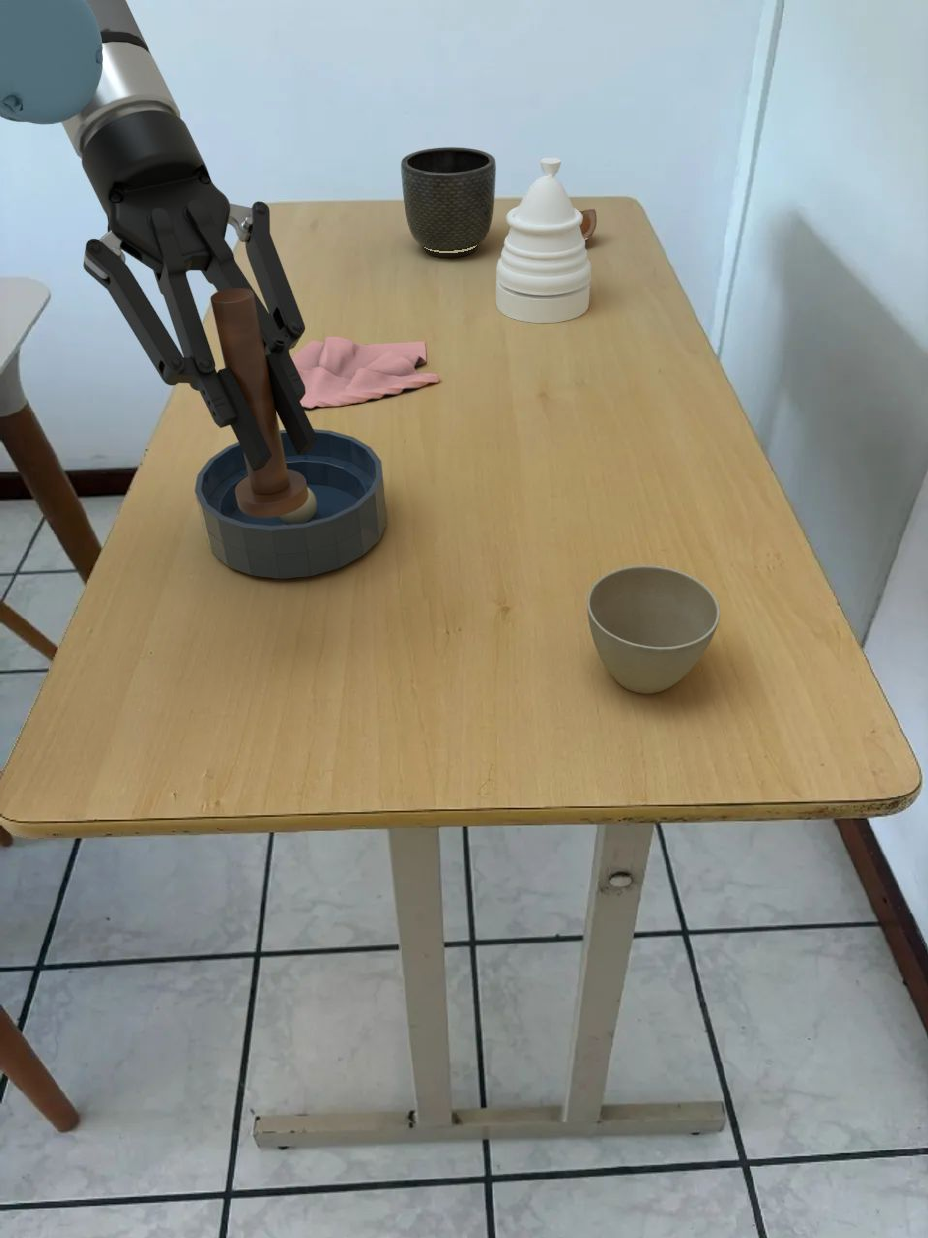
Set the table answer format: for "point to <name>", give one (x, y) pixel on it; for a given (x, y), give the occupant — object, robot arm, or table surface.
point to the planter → (449, 198)
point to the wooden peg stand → (256, 406)
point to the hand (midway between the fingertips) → (285, 454)
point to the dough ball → (302, 511)
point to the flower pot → (651, 625)
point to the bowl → (280, 550)
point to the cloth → (358, 371)
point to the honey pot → (544, 256)
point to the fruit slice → (588, 223)
